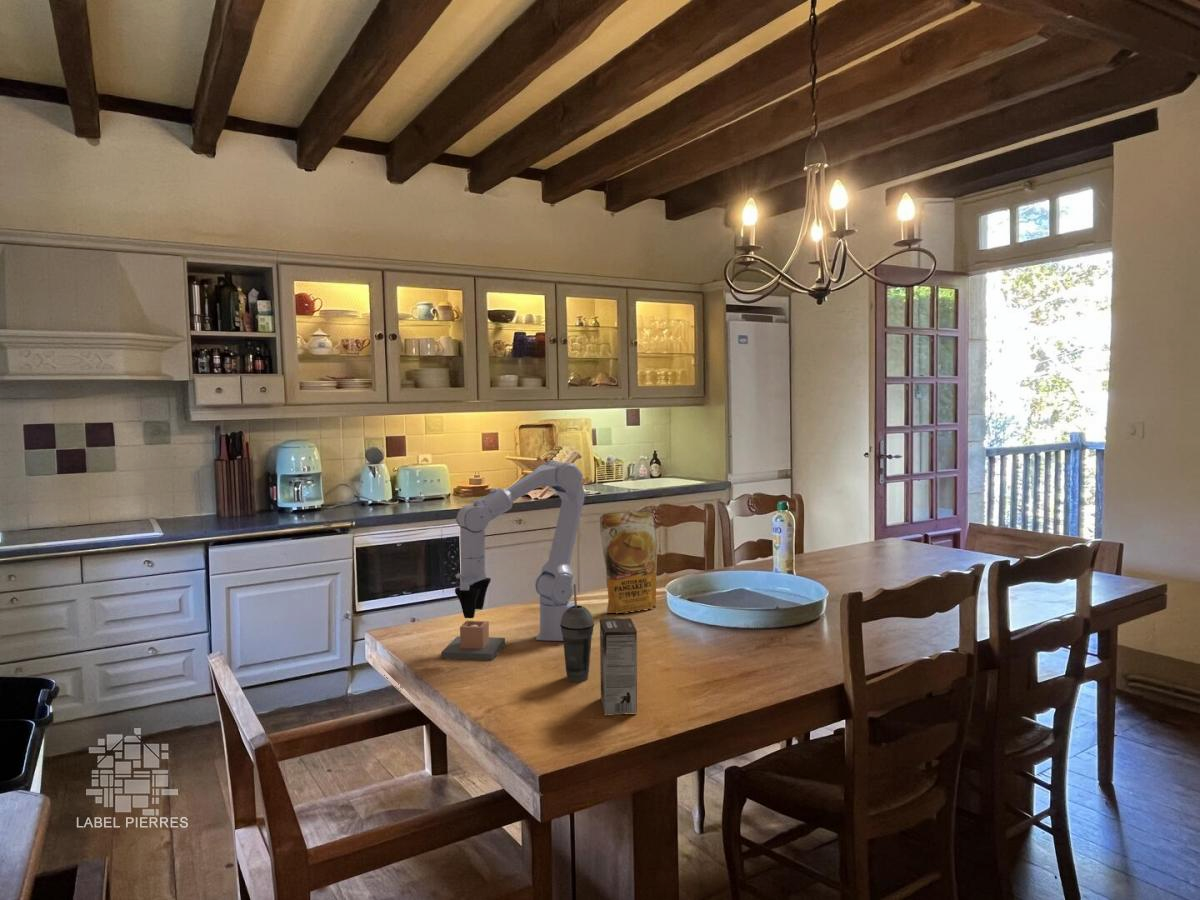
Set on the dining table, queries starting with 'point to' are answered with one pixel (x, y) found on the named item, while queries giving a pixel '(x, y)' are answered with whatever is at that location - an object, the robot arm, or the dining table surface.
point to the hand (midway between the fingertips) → (473, 613)
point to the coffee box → (618, 665)
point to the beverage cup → (577, 640)
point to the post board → (473, 650)
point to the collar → (474, 634)
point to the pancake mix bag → (629, 560)
